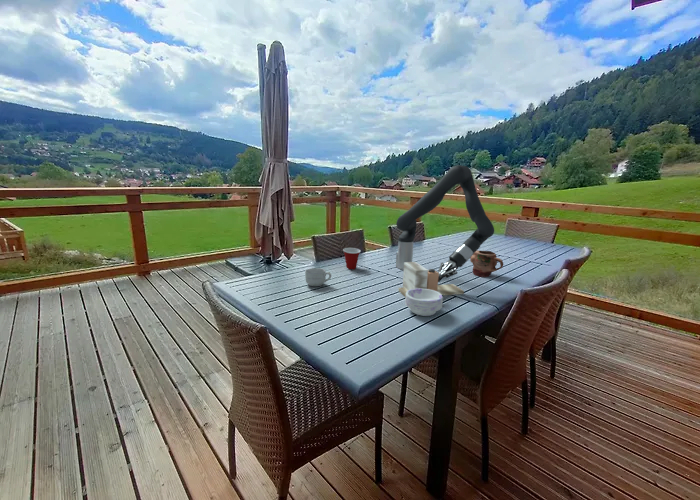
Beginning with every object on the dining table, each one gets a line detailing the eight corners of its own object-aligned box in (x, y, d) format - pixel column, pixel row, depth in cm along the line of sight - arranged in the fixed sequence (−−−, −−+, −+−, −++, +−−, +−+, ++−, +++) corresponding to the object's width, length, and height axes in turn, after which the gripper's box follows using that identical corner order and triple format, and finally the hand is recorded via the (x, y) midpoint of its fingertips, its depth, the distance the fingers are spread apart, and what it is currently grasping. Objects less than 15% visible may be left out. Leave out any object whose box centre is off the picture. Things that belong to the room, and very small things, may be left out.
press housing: (450, 285, 157) (453, 259, 154) (466, 295, 144) (469, 267, 140) (397, 289, 151) (398, 262, 147) (407, 299, 137) (409, 271, 134)
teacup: (301, 286, 154) (300, 271, 152) (313, 280, 163) (312, 266, 161) (323, 291, 147) (323, 275, 146) (335, 284, 157) (335, 269, 155)
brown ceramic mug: (506, 277, 171) (509, 254, 167) (497, 282, 163) (500, 257, 160) (473, 269, 185) (475, 247, 182) (463, 273, 178) (465, 250, 174)
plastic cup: (353, 272, 177) (353, 252, 175) (339, 268, 184) (339, 249, 181) (363, 268, 186) (364, 249, 183) (350, 264, 192) (350, 246, 189)
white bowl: (414, 301, 136) (416, 284, 134) (447, 310, 127) (448, 293, 125) (397, 312, 125) (398, 294, 123) (431, 323, 115) (433, 304, 114)
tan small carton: (432, 286, 150) (434, 267, 147) (437, 290, 145) (439, 270, 142) (423, 287, 149) (424, 268, 146) (427, 291, 144) (429, 271, 141)
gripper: (449, 247, 151) (425, 271, 152) (464, 253, 139) (438, 280, 139) (458, 257, 154) (434, 281, 154) (473, 264, 141) (447, 290, 141)
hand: (436, 280), depth 146 cm, fingers closed
